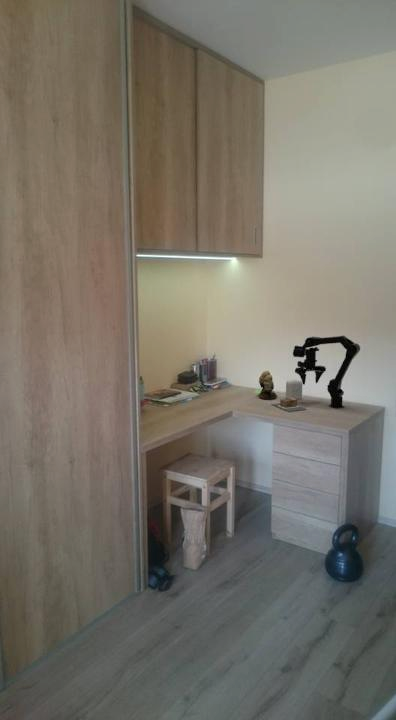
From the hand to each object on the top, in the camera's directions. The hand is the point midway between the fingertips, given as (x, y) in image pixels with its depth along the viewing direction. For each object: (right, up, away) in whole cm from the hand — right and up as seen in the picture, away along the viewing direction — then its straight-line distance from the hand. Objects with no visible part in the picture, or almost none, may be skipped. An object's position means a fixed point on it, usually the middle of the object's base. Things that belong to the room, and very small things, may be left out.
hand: (310, 383), depth 313 cm
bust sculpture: (-23, -10, +18) cm, 31 cm away
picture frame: (-14, -13, -8) cm, 21 cm away
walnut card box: (-14, -13, -8) cm, 21 cm away
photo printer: (-7, -10, +13) cm, 18 cm away
